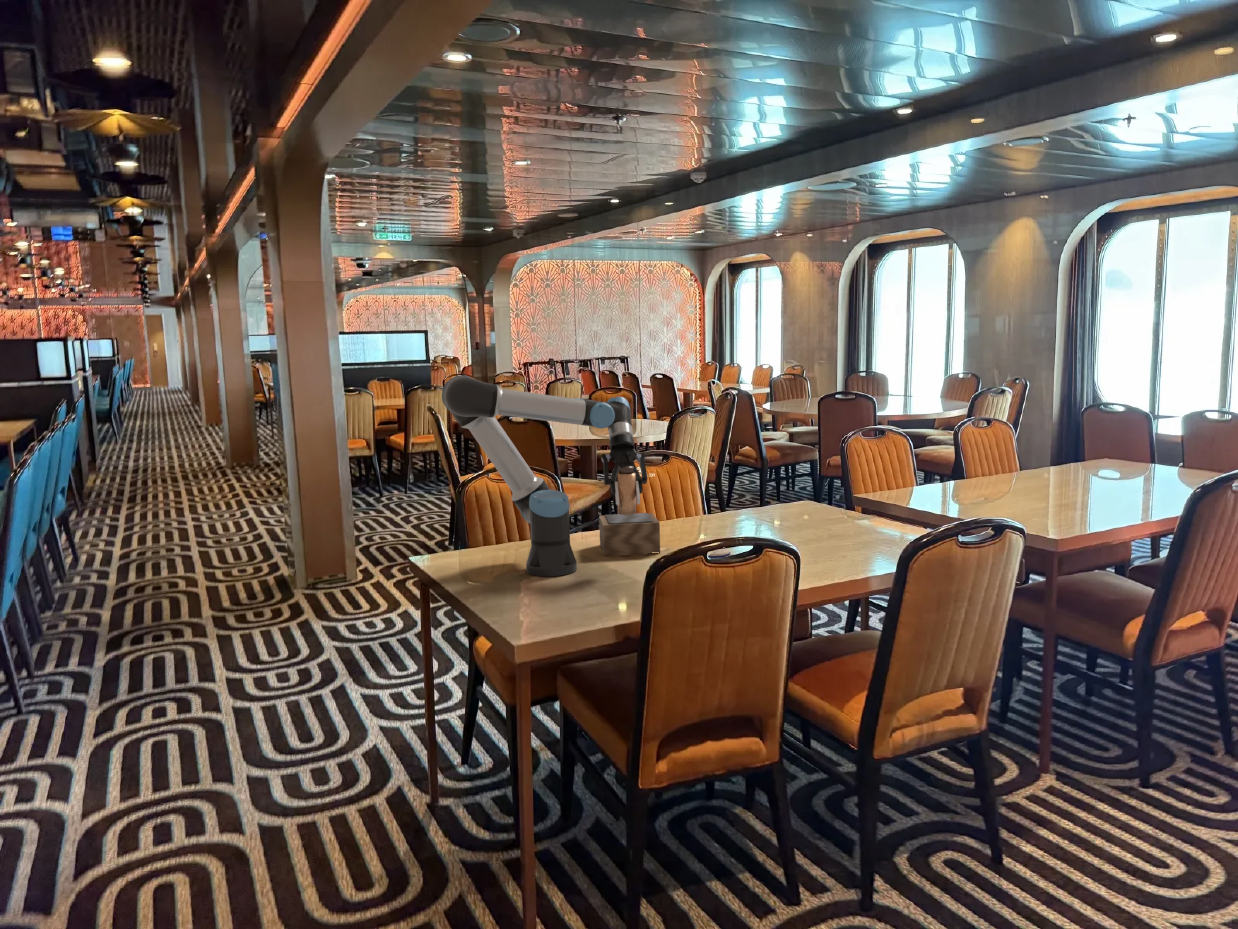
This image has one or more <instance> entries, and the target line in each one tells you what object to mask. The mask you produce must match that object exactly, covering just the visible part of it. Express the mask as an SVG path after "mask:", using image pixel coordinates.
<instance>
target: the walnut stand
mask: <svg viewBox="0 0 1238 929" xmlns="http://www.w3.org/2000/svg"><path fill="white" fill-rule="evenodd" d="M598 521H599V522H598V523H599V524H598V525H599V526H598V527H599V546H600V548H601V549H600V550H601V551H603V552H602V554H603V557H613V556H612V555H619V556H635V555H636V554H639V555H645V554H644V553H652V552H659V554H661V530H660V529H661V528H660V527H661V526H660V524H661V523H660V521H659V519H658V518H657V517H656V516H655V515H654V513H652V512H651V513H650V512H649V513H648V512H639V513H638V512H636V514H633V515H620V514H618V513H617V514H616V513H615V514H614V513H613V514H605V515H599V516H598Z"/></svg>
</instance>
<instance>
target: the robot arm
mask: <svg viewBox="0 0 1238 929" xmlns="http://www.w3.org/2000/svg"><path fill="white" fill-rule="evenodd" d="M441 391H442V392H441V400H442V403H443V406H444V407H445V408H446V409H447V410H448V411H449V412H450V413H451V415H452V416H453V418H454V419H455V420H456V423H458V425H459V427H460V428H462V429H467V430H469V432H470V433H471V435H472V436H473V438H474V439H475V441H476V442H477V443H478V444H479V446H480V448H482V450H483V453H485V455H486V456H487V458H488V459H489V461H490V462H491V463H492V465H493V466H494V468H495V470H496V471H497V472H498V473H499V476H501V478H502V479H503V481H504V482H505V484H506V485H507V487H508V488H509V489H510V491H511V493H512V494H511V495H512V496H511V500H512V502H513V504H514V506H515V507H516V508H517V509H518V510H519V512H520V515H521V517H522V518H523V520H524V521H525V522H526V523H528V525H529V527H530V549H529V553H528V556H527V559H526V563H525V566H526V567H525V569H526V570H525V571H526V573H527V574H529V575H531V576H538V577H559V576H566V575H569V574H573V573H574V572H576V571H577V569H578V566H577V565H578V563H577V559H576V556H575V554H574V551H573V548H572V545H571V530H570V529H571V526H570V502H569V496H568V495H567V494H566V492H563V491H561V490H556V489H551V488H550V487H549V486H548V484H547V483H546V481H545V480H544V478H542V477H538V476H536V475H535V474H534V472H533V471H532V469H531V468H530V466H529V465H528V464H527V462H526V461H525V459H524V458H523V456H522V455H521V453H520V452H519V450H518V449H517V447H516V446H515V444H514V442H513V441H512V440H511V438H510V437H509V435H507V432H506V431H505V430H504V428H503V427H502V425H501V424H500V423H499V421H498V419H497V418H496V417H497V416H504V417H505V416H506V417H513V418H521V419H530V420H536V421H538V420H539V421H546V422H553V423H561V424H562V423H563V424H571V425H578V426H585V427H593V428H596V429H606V428H607V430H608V439H609V450H610V451H609V454H605V453H602V454H601V460H600V461H601V463H602V465H603V484H604V485H605V486H607V485H609V487H610V493H611V495H614V496H615V505H616V506H618V505H619V492H618V483H617V473H619V466H634V473H636V505H640V503H641V495H642V494H643V490H644V489H643V484H644V485H646V484H647V483H648V482H647V481H648V474H647V468H646V462H645V460H646V456H647V455H646V453H644V452H642V453H641V454H640V453H638V452H637V451H636V449H635V448H636V447H635V446H636V445H635V440H634V431H633V425H632V411H631V408H630V404H629V401H628V400H627V399H626V398H625V397H623V396H615V397H611V398H609V399H608V400H607V401H606V402H603V401H598V400H591V399H589V398H588V399H586V398H578V397H574V398H571V397H565V396H558V395H549V394H543V393H536V392H528V391H522V390H521V391H520V390H514V389H513V390H512V389H506V388H501V387H500V385H498V384H495V383H489V382H485V381H482V380H478V379H476V378H473V377H471V376H468V375H464V374H463V375H462V374H460V375H456V376H454V377H452V378H450V379H449V380H448V381H446V383H445V384H444V386H443V388H442V390H441ZM636 459H637V460H638V463H639V467H640V468H639V469H640V473H639V471H638V469H637V467H636V465H635V460H636ZM610 460H611V461H612V462H613V463H614V466H613V471H612V474H611V478H610V477H609V476H610V475H609V462H610ZM640 474H641V475H640Z"/></svg>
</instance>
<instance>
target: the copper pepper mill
mask: <svg viewBox="0 0 1238 929" xmlns="http://www.w3.org/2000/svg"><path fill="white" fill-rule="evenodd" d="M616 482H617V483H618V492H619V505H617V514H620V515H633V514H636V513H637V500H636V473H634V466H619V469H618V473H617V477H616Z"/></svg>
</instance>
